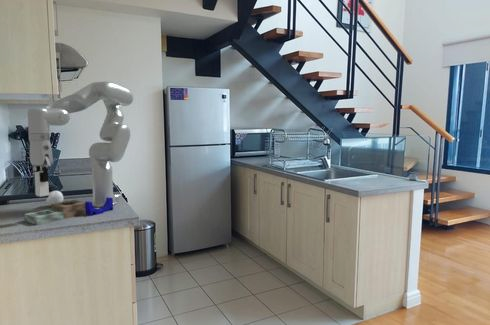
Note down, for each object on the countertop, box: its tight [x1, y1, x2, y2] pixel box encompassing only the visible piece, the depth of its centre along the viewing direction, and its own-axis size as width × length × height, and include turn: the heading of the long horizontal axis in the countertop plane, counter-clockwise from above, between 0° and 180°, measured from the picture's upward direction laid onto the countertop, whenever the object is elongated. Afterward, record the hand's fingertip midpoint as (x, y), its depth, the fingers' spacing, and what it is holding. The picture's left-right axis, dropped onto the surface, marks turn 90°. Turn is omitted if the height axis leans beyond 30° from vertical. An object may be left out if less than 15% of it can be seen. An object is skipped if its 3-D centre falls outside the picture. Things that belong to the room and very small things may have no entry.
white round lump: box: [45, 190, 64, 207], centre depth 171 cm, size 8×8×8 cm
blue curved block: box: [84, 197, 114, 217], centre depth 160 cm, size 12×4×6 cm, turn 144°
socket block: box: [23, 199, 87, 226], centre depth 152 cm, size 22×10×5 cm, turn 147°
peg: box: [34, 172, 50, 197], centre depth 145 cm, size 4×4×10 cm
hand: (41, 180), depth 145 cm, fingers closed on peg, 3 cm apart
